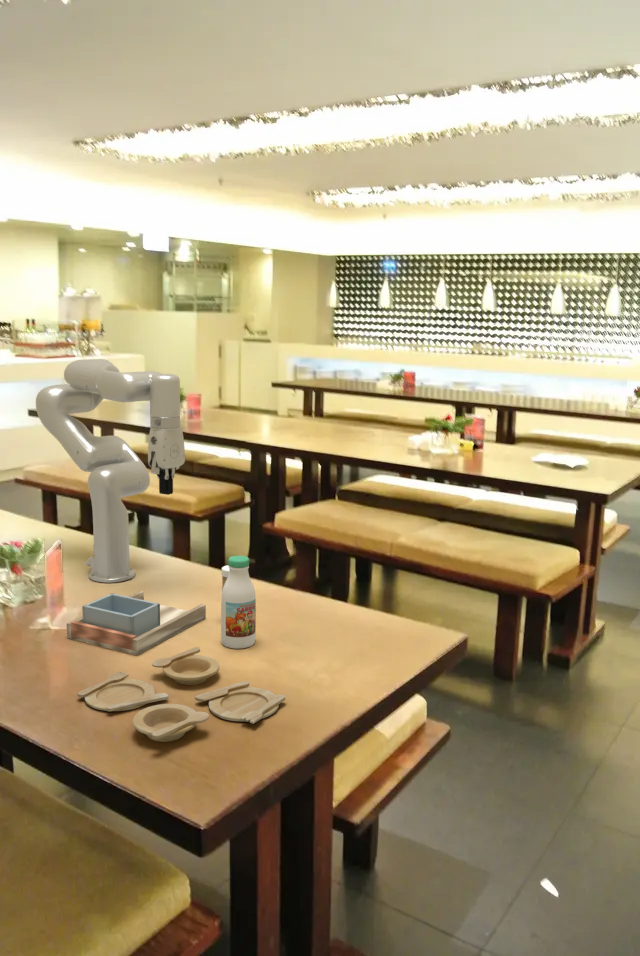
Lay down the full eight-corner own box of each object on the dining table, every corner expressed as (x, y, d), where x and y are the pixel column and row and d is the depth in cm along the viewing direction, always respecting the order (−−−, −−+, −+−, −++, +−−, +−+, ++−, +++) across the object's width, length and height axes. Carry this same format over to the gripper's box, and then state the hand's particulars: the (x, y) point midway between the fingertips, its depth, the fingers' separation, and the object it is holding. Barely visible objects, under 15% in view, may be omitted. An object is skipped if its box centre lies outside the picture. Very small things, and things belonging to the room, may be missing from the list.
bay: (67, 638, 188) (66, 621, 187) (140, 604, 211) (139, 589, 210) (137, 655, 179) (137, 638, 178) (205, 618, 202) (205, 602, 201)
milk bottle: (214, 645, 186) (214, 559, 182) (233, 634, 193) (233, 551, 189) (243, 652, 183) (243, 565, 179) (261, 640, 189) (262, 556, 185)
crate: (83, 632, 188) (82, 605, 187) (112, 618, 197) (111, 593, 196) (132, 644, 182) (131, 617, 181) (160, 630, 191) (159, 603, 190)
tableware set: (299, 712, 157) (299, 692, 156) (168, 768, 136) (168, 745, 136) (190, 655, 181) (190, 638, 180) (66, 695, 161) (65, 676, 160)
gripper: (159, 427, 202) (160, 500, 206) (194, 421, 215) (195, 490, 219) (134, 424, 205) (136, 497, 209) (171, 418, 219) (171, 487, 222)
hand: (166, 493), depth 214 cm, fingers closed
